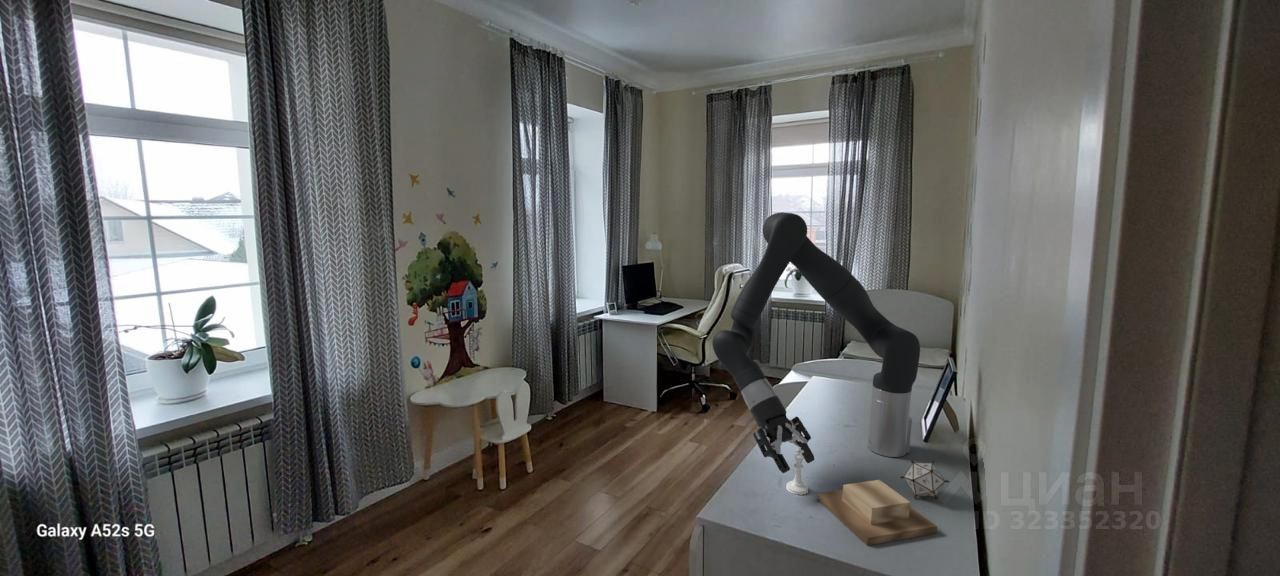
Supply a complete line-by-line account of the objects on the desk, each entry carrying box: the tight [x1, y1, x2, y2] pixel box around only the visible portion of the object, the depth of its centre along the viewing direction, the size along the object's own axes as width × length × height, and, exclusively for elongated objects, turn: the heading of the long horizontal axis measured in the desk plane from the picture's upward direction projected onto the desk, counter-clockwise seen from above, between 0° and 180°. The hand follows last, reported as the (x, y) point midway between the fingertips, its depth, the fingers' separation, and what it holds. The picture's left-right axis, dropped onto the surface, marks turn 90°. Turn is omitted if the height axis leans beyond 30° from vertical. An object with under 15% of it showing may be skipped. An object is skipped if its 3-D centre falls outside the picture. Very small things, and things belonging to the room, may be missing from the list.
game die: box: [899, 459, 950, 500], centre depth 115 cm, size 9×8×10 cm
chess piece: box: [785, 447, 809, 496], centre depth 117 cm, size 5×5×10 cm
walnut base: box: [817, 479, 938, 546], centre depth 107 cm, size 16×16×5 cm
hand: (799, 466), depth 116 cm, fingers open, 8 cm apart
